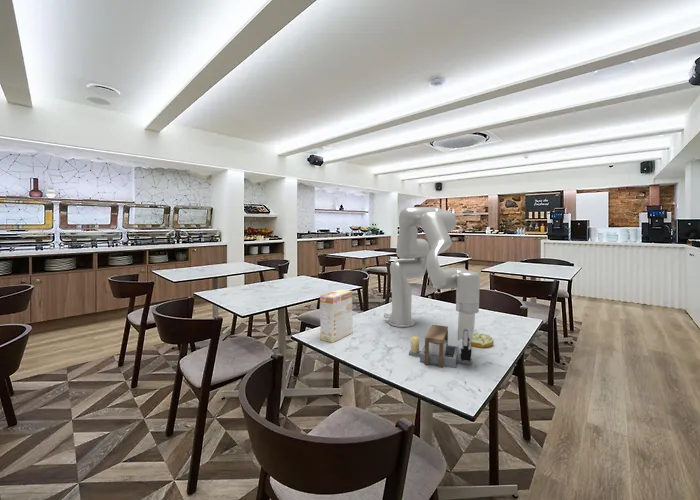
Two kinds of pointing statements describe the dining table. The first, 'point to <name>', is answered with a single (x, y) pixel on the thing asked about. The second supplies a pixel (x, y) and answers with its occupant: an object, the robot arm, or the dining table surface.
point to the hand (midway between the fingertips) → (466, 357)
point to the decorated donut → (482, 340)
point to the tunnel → (436, 335)
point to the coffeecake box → (336, 315)
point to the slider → (435, 358)
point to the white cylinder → (436, 348)
